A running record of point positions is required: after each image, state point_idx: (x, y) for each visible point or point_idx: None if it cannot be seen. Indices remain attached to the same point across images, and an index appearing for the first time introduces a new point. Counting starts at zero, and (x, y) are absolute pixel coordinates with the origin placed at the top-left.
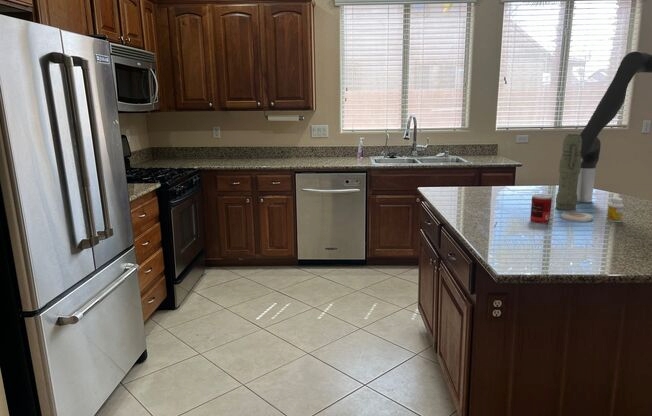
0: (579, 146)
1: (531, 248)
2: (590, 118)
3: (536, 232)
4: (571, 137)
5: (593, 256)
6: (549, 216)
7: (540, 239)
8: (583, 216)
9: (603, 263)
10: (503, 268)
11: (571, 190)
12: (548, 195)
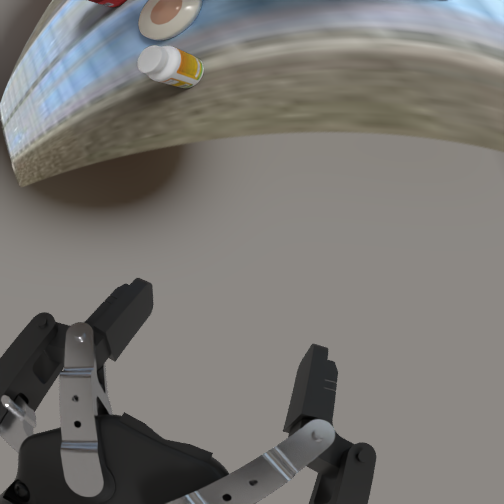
0: None
1: (28, 79)
2: None
3: (67, 38)
4: None
5: (28, 135)
6: (109, 4)
7: (47, 63)
8: (156, 24)
9: (21, 150)
10: (3, 100)
11: None
12: None
